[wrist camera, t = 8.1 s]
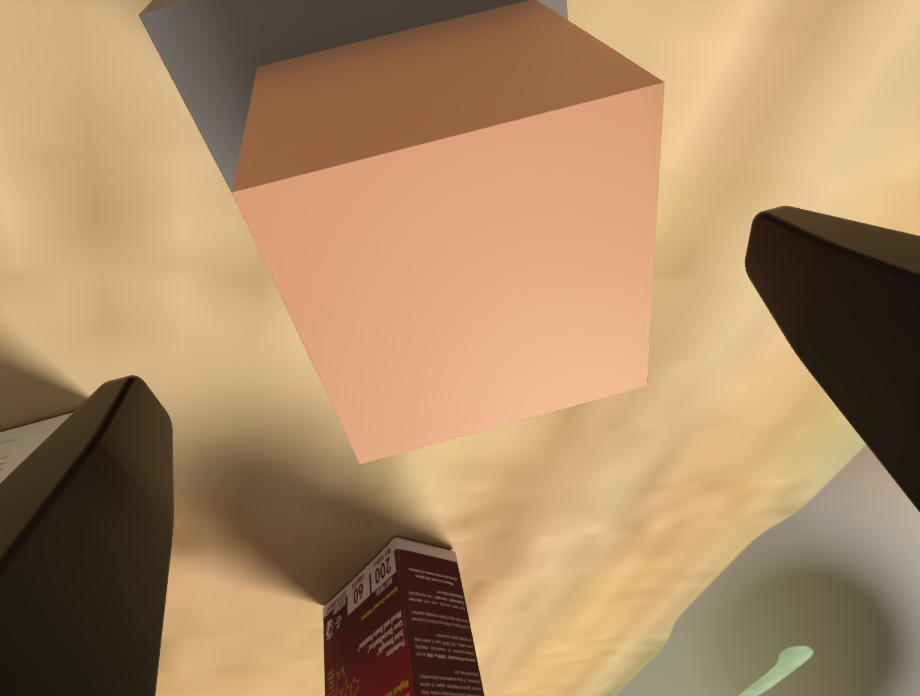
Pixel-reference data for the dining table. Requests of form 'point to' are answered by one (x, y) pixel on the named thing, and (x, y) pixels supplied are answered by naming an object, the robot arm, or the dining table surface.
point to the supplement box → (401, 628)
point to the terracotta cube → (459, 221)
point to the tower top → (271, 47)
